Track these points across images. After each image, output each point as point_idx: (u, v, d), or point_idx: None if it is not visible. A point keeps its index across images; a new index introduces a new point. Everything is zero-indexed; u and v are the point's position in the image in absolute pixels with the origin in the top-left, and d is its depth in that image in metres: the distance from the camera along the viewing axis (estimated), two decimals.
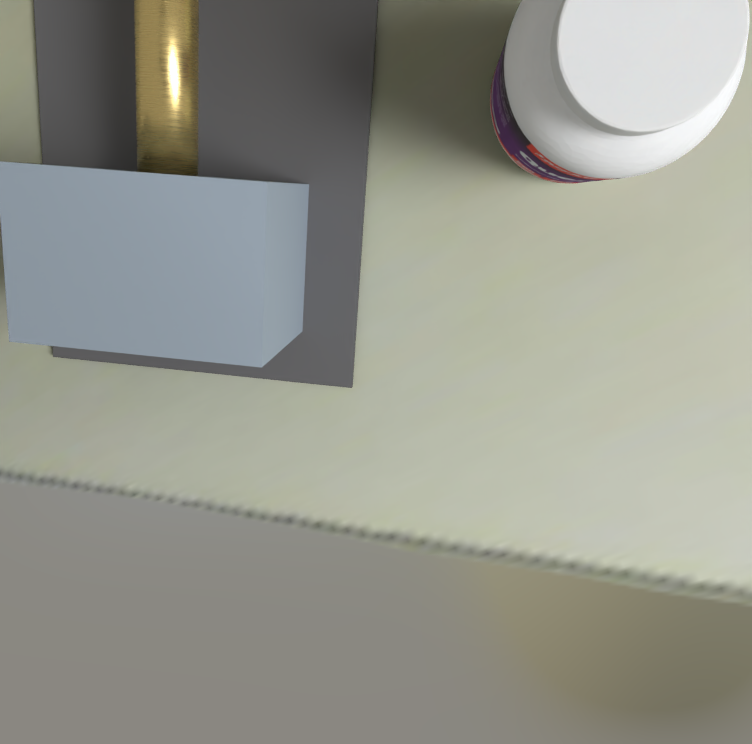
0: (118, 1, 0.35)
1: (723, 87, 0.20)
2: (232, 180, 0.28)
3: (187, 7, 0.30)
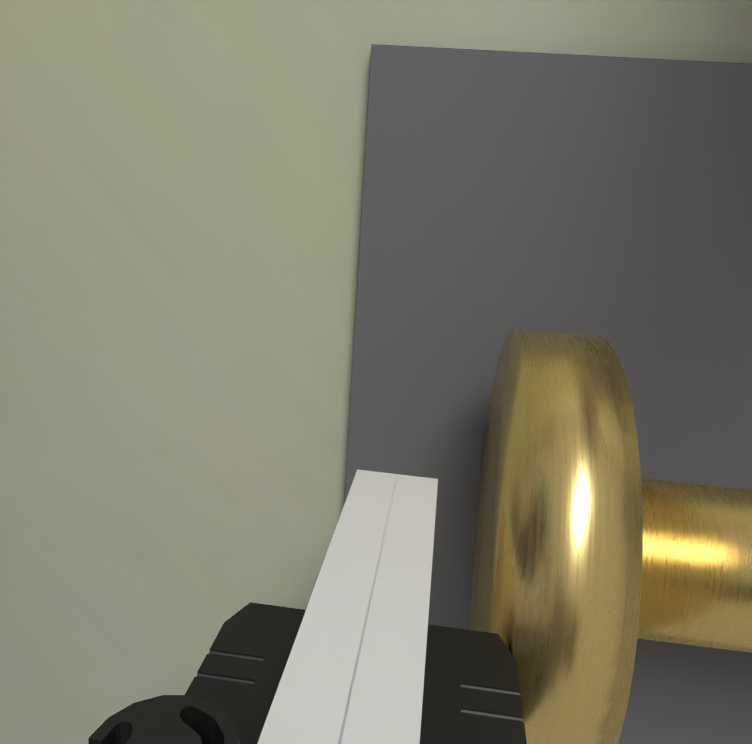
0: None
1: None
2: None
3: None
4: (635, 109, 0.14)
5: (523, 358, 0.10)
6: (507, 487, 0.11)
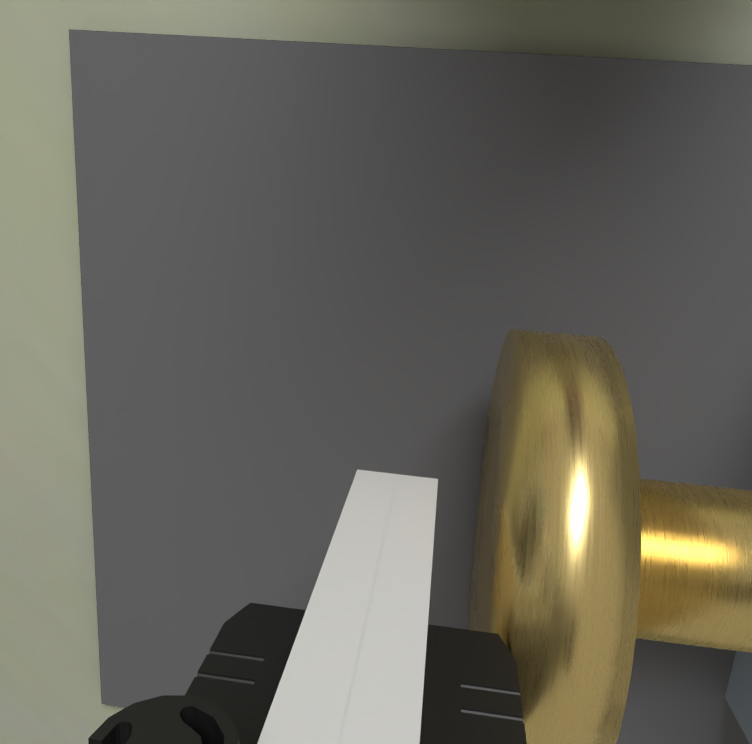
0: None
1: None
2: None
3: None
4: (316, 91, 0.15)
5: (522, 358, 0.10)
6: (506, 487, 0.11)
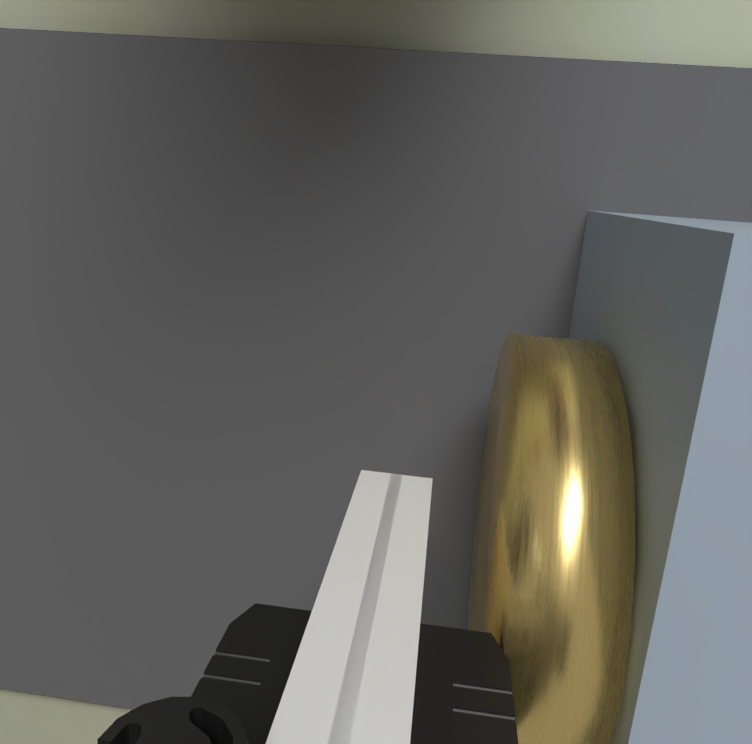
0: (214, 580, 0.18)
1: None
2: (709, 375, 0.07)
3: None
4: (87, 80, 0.15)
5: (518, 363, 0.10)
6: (502, 492, 0.11)
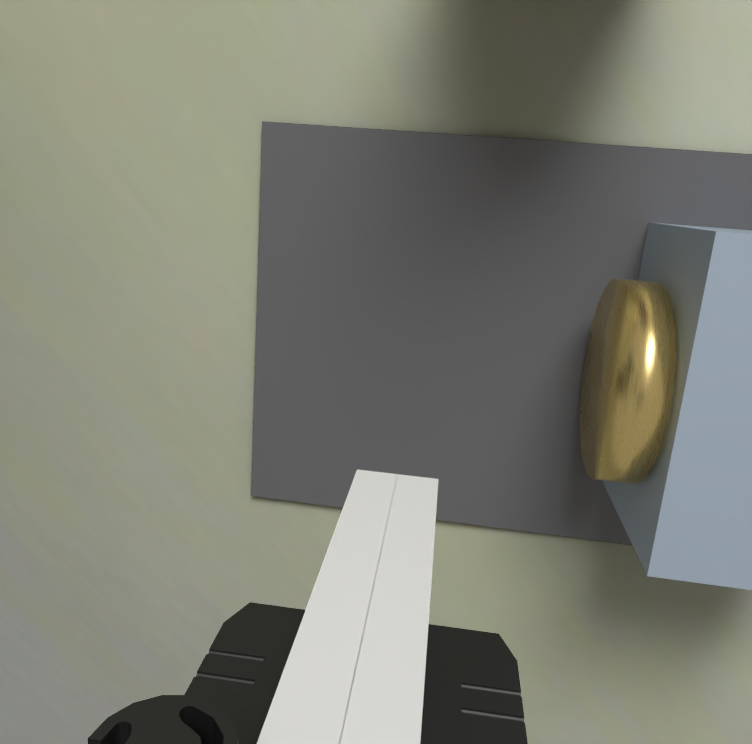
0: (429, 429, 0.32)
1: None
2: (708, 279, 0.21)
3: None
4: (387, 153, 0.29)
5: (624, 287, 0.24)
6: (615, 344, 0.25)
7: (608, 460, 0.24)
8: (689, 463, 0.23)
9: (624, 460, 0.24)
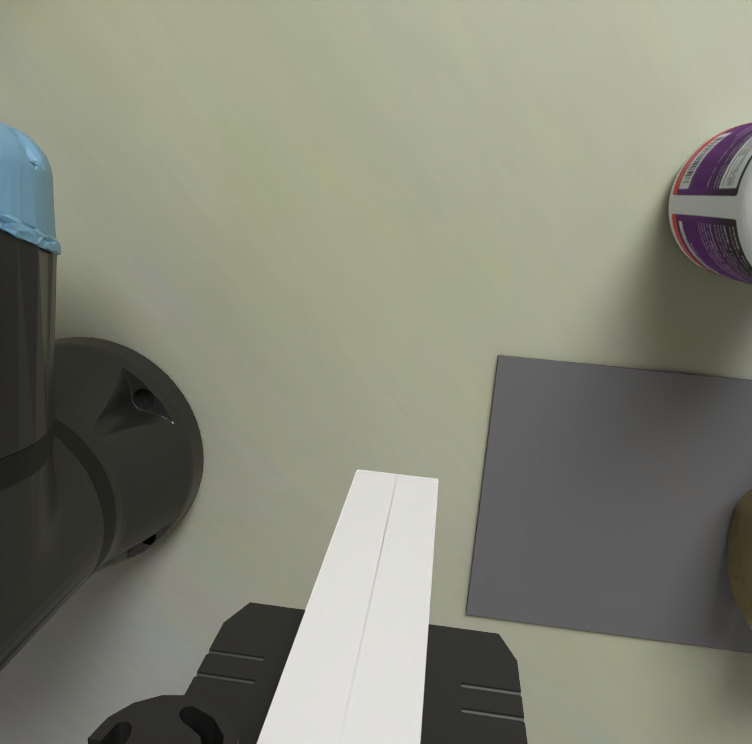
0: (609, 570, 0.44)
1: None
2: None
3: None
4: (591, 381, 0.41)
5: None
6: None
7: None
8: None
9: None
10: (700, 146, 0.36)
